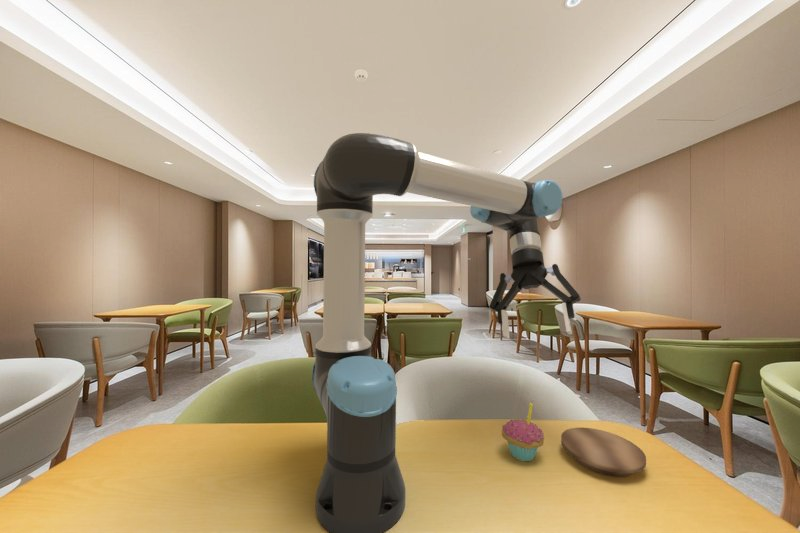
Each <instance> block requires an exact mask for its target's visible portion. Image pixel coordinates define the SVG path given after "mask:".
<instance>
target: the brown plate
mask: <svg viewBox="0 0 800 533" xmlns="http://www.w3.org/2000/svg"><path fill="white" fill-rule="evenodd" d="M560 439H561V441H560V443H561V446H562V447H563V449H564V450H565V451H566V452H567V453H568V454H569V455H570V456H572V458H573V459H574V461H575V462H577V463H578V464H579V465H581V466H582V467H584V468H586V469H587V470H590V471H591V472H594V473H597V474H600V475H604V476H607V477H614V478H623V477H628V476H631V475H632V474H634V473H640V472H641V471H644V469H645V468H646V467H647V456H646V454H645V452H644V451H643V449H641V448H640V447H639V446H638V445H637V444H635V443H633V442H632V441H631V440H629V439H626V438H625V437H622V436H620V435H618V434H615V433H613V432H610V431H605V430H602V429H597V428H592V427H571V428H568V429H565V430H564V431H563V432H562V433H561V437H560Z"/></svg>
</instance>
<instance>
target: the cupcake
mask: <svg viewBox="0 0 800 533" xmlns="http://www.w3.org/2000/svg"><path fill="white" fill-rule="evenodd" d="M533 402H534V399H532V400H531V402H530V403H529V405H528V412H527V418H526V419H523V418H518V419H511V420H509V421H506V422H505V423H504V424H503V425H502V428H501V434H500V435H501V436H502V438H503V439H504V440H506V442H507V444H508V447H509V451H510V455H511V456H512V457H514V458H515V459H517V460H519V461H522V462H531V461H533V460H534V459H535V457H536V454H537V451H538V448H540V447H542V446H543V445H544V442H545V437H544V432H543V430H542V429H541V428H540V427H539V426H538V425H537V424H535V423H533V422H531V419H532V418H531V417H532V412H533V408H534V407H533V406H534V404H533Z"/></svg>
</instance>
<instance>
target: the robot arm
mask: <svg viewBox="0 0 800 533" xmlns="http://www.w3.org/2000/svg"><path fill="white" fill-rule="evenodd" d="M313 188H314V189H313V190H314V193H315V195H316V215H317V216H318V217H319V218H320V219H321V221H322V222H323V297H322V298H323V306H322V307H323V308H322V314H323V315H322V316H323V317H322V323H323V324H322V325H323V326H322V337H321V338H320V339H319V340H318V341H317V342H316V343H315V347H314V348H315V354H314V355H315V356H314V358H315V360H314V362H313V365H312V370H311V383H312V386H313V390H314V391H315V393H316V395H317V396H318V399H319V402H320V403H321V406H322V408H323V411H324V412H325V416H326V423H327V424H326V425H327V426H326V429H327V430H326V434H327V436H326V440H327V441H326V462H325V464H324V467H323V470H322V475H321V477H320V480H319V483H318V487H317V489H316V495H315V513H316V517H317V520H318V522H319V523H320V525H321V526H322V527H323V528H324V529H325V530H326V531H328V532H330V533H383V532H384V533H385V532H386V531H387V530H388V529H391V528H392V527H393V526H394V525H395V524H396V523H397V522H398V521H399V520H400V518H401V517H402V515H403V513H404V511H405V506H406V486H405V481H404V477H403V475H402V471H401V469H400V466H399V462H398V459H397V455H396V438H397V437H396V435H397V434H396V432H397V430H396V429H397V425H396V424H397V395H398V386H397V381H396V373H395V371H394V369H393V367H392V366H391V365H390V364H389V363H388V362H386V361H385V360H383V359H381V358H374V357H373V356H372V342H371V341H370V340H369V339H368V338H367V337H366V336H365V297H366V295H365V293H366V291H365V287H366V285H365V284H366V282H365V280H366V278H365V276H366V274H365V272H366V224H367V222H369V220H371V218H372V217H373V210H374V209H373V205H374V204H373V203H374V202H373V200H374V199H373V197H374V196H376V195H391V196H392V195H393V196H396V197H403V196H404V195H405V194H407V193H409V194H414V195H418V196H423V197H428V198H432V199H437V200H440V201H441V200H442V201H447V202H451V203H457V204H461V205H465V206H469V207H470V209H469V210H470V212H469V213H470V215H471V217H472V218H473V219H475V220H477V221H479V222H481V223H482V224H487V225H489V226H493V227H495V228H498V229H499V230H503V231H505V232H507V233H508V237H509V245H510V254H511V266H512V267H511V269H512V270H511V271H512V272H511V273H509V274H505V273H504V272H501V273H500V274H499V283H498V285H497V287H496V290H495V292H494V294H493V297H492V299H491V302H490V304H489V306H488V307H489V308H490V310H492V311H493V312H496V314H497V323H498V325H501V326H502V327H501V328H502V337H504V338H505V339H507V340H509V339H510V326H509V313H508V312H507V311H506V310H507V309H508V307H509V306H510V305H511V303H512V302H513V300H514V299H515V297H516V296H517V295H518V293H520V292H521V291H522V289H524V290H529V289H531V288H532V289H537V288H539V287H541V286H542V287H543V288H545V289H546V290H547V291H549V292H550V293H552V294H553V295H554V296H556V298H558V299H559V300H560V301H562V303H561V307H562V312H563V313H562V314H563V319H564V325H565V331H566V333H567V335H573V331H572V326H571V319H575V310H574V304H575V303H579V302H581V296H580V294H579V293H578V292H577V291H576V289H575V288H574V286H572V285H571V284H570V282H569V281H568V280H567V279H566V277H565V276H564V274H563V275H562V273H561V270H560V268H559V266H558V264H557V263H553V264H552V266H550V267H546V266H545V261H544V260H545V259H544V254H543V252H542V251H543V246H542V242H541V235H540V229H539V221H538V218H540V219H542V218H544V217H546V216H551V215H552V216H553V215H555V214H556V213H557V212H558V211H559V210H560V209H561V207H562V204H563V196H564V195H563V192H562V191H563V190H562V188H561V187H560V185H559V184H558V183H557V182H556V181H555V180H552V179H544V180H537V181H536V182H530V181H526V180H522V179H518V178H515V177H511V176H508V175H504V174H502V173H501V174H500V173H497V172H494V171H489V170H487V169H483V168H479V167H476V166H473V165H470V164H469V165H468V164H465V163H461V162H457V161H454V160H451V159H447V158H444V157H441V156H440V157H439V156H437V155H433V154H428V153H425V152H422V151H418V150H417V148H416V146H415V145H414V143H412V142H408V141H406V140H405V141H404V140H401V139H398V138H394V137H390V136H386V135H381V134H374V133H369V132H356V133H354V132H353V133H349V134H346V135H342V136H340V137H339V138H337V139H336V140H334V142H332V144H330V146H329V148H328V149H327V151H326V154H325V155H324V156H323V159H322V160H321V162H319V164H318V166H317V167H316V170H315V172H314V176H313ZM549 274H550V275H551V276H554V277H556V279H557V280H558V282H559V283H560V284H561V285H562V287H563V288H564V289H565V290H566V291H567V293H568V294H569V296H568V295H567V294H566V293H564V292H563V291H562V290H560V289H559V288H557V286H555V285H553V284H552V283H550V282H549V281H548V280H547V279H546V278H547V276H548V275H549ZM511 280H513V281H514V282H512V284H511V287H510V288H509V289H508V290H507V293H506V294H505V292H506V289H507V287H508V284H509V283H510V282H511ZM504 294H505V295H504ZM503 296H504V297H503Z"/></svg>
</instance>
